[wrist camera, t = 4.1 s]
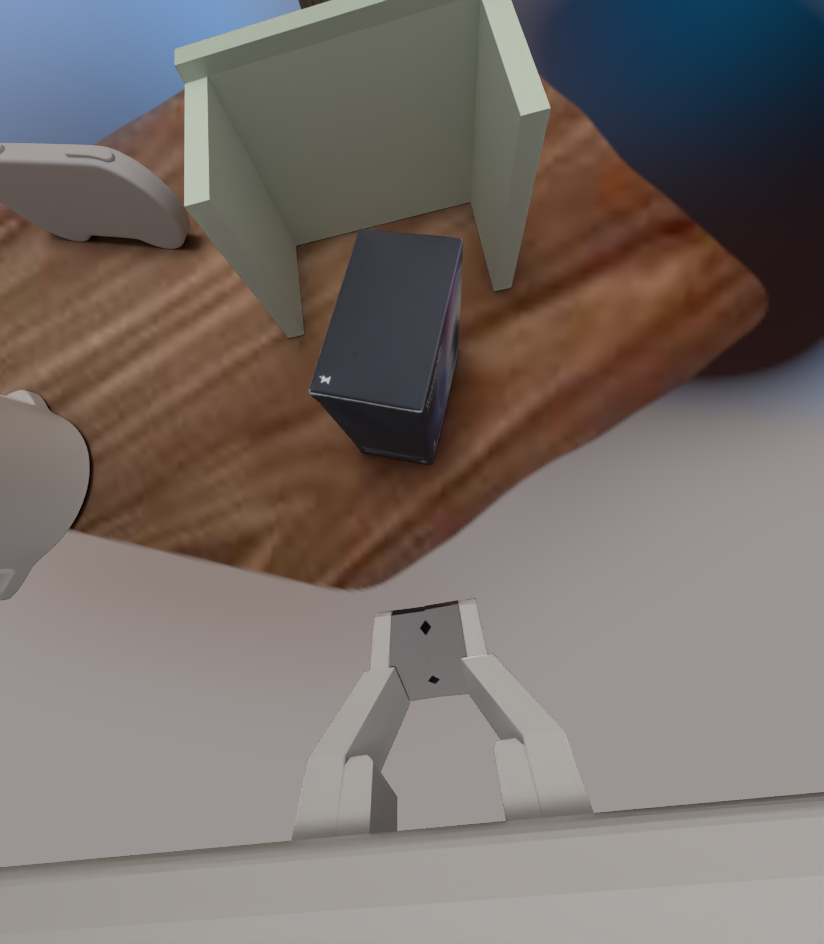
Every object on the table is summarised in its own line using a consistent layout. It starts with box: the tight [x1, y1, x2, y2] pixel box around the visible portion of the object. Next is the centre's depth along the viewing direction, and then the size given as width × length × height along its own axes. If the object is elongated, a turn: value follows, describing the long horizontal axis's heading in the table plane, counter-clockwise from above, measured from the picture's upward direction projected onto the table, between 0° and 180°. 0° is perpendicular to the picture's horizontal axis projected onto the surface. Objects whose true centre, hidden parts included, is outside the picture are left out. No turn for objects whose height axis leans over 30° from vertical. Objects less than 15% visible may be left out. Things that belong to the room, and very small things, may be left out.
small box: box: [309, 229, 463, 464], centre depth 22 cm, size 11×6×10 cm, turn 167°
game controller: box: [0, 143, 190, 249], centre depth 32 cm, size 20×2×8 cm, turn 78°
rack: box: [174, 0, 551, 338], centre depth 24 cm, size 20×12×13 cm, turn 99°
